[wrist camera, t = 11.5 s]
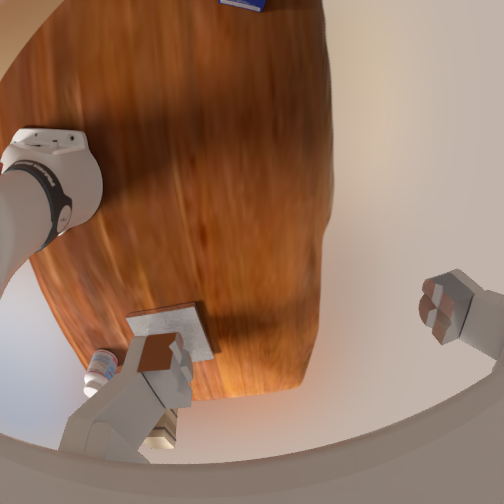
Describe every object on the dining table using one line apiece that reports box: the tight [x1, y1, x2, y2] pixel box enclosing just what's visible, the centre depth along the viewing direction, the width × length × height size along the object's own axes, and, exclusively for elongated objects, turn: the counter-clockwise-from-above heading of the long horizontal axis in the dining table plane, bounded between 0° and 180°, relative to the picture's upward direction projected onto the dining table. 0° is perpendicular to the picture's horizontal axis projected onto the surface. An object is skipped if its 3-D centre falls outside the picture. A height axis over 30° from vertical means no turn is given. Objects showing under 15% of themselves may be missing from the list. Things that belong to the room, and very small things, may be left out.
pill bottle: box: [84, 349, 118, 398], centre depth 51 cm, size 6×6×11 cm
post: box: [144, 408, 178, 449], centre depth 40 cm, size 4×4×17 cm
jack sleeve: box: [126, 302, 214, 387], centre depth 49 cm, size 14×14×12 cm
